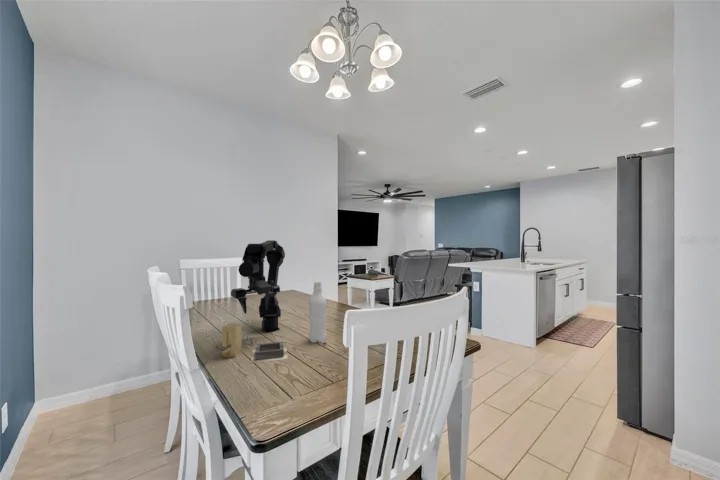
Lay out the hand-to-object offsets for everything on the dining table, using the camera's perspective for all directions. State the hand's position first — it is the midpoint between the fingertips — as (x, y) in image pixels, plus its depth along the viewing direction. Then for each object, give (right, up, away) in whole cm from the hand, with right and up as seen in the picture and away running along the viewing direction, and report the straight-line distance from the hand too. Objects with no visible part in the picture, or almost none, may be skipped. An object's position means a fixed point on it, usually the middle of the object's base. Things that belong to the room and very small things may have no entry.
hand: (256, 311), depth 118 cm
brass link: (-3, -13, -15) cm, 20 cm away
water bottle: (+25, -13, -1) cm, 29 cm away
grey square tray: (+10, -13, -15) cm, 22 cm away
